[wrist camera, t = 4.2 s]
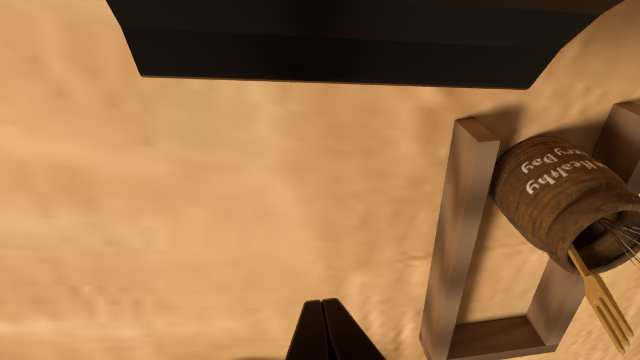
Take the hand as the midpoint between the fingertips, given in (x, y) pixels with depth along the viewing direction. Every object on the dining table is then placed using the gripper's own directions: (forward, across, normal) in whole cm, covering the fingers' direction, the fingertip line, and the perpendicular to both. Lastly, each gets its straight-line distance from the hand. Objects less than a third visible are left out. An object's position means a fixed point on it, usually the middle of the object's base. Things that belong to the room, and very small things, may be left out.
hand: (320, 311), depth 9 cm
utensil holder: (+14, -16, +4) cm, 21 cm away
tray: (+14, -16, +10) cm, 23 cm away
